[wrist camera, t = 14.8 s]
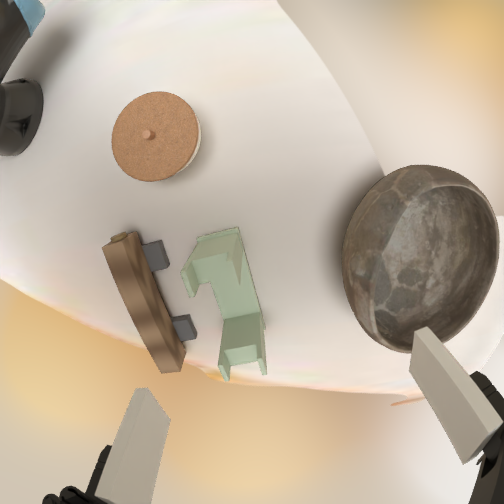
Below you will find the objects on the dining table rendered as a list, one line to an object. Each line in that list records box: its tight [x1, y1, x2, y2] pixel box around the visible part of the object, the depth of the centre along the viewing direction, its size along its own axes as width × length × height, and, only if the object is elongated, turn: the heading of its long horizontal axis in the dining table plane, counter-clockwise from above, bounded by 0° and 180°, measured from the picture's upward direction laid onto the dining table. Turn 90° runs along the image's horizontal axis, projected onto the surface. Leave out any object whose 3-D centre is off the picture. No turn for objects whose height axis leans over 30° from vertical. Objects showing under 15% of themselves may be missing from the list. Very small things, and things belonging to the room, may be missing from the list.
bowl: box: [342, 165, 499, 353], centre depth 32 cm, size 24×24×15 cm
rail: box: [102, 231, 186, 373], centre depth 38 cm, size 23×4×5 cm, turn 14°
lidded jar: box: [112, 92, 201, 182], centre depth 30 cm, size 11×11×9 cm
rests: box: [142, 240, 197, 341], centre depth 41 cm, size 17×9×2 cm, turn 14°
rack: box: [180, 227, 267, 381], centre depth 35 cm, size 17×6×12 cm, turn 14°
